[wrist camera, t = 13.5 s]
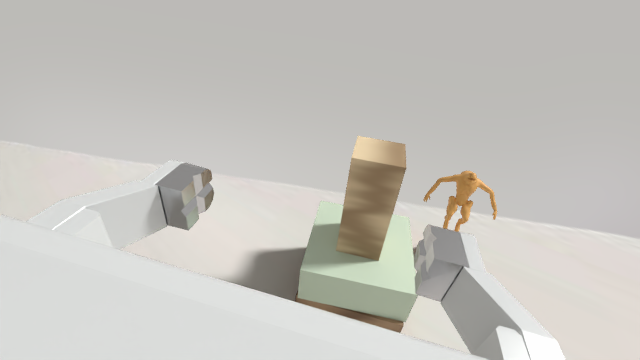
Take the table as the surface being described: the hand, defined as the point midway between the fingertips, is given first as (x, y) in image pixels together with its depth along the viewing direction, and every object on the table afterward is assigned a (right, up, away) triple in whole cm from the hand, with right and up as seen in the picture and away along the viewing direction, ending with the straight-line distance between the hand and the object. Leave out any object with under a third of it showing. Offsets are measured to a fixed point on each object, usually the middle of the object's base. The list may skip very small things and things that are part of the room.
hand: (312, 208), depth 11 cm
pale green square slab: (+4, -8, +20) cm, 22 cm away
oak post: (+4, -5, +18) cm, 19 cm away
